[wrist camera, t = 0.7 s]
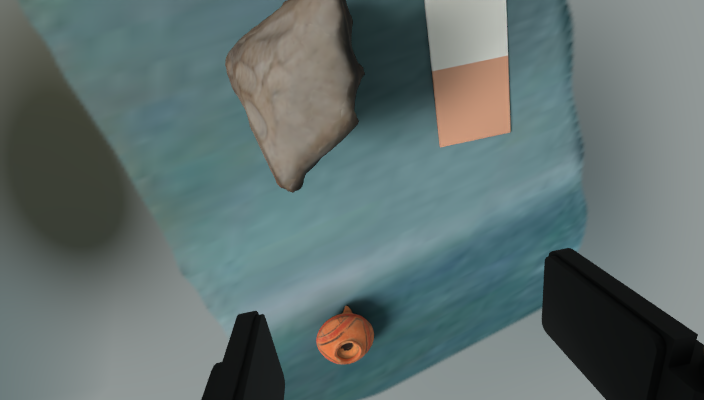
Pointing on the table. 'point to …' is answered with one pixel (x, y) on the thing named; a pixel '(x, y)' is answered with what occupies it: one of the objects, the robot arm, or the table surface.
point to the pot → (345, 337)
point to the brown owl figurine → (298, 84)
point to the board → (469, 68)
